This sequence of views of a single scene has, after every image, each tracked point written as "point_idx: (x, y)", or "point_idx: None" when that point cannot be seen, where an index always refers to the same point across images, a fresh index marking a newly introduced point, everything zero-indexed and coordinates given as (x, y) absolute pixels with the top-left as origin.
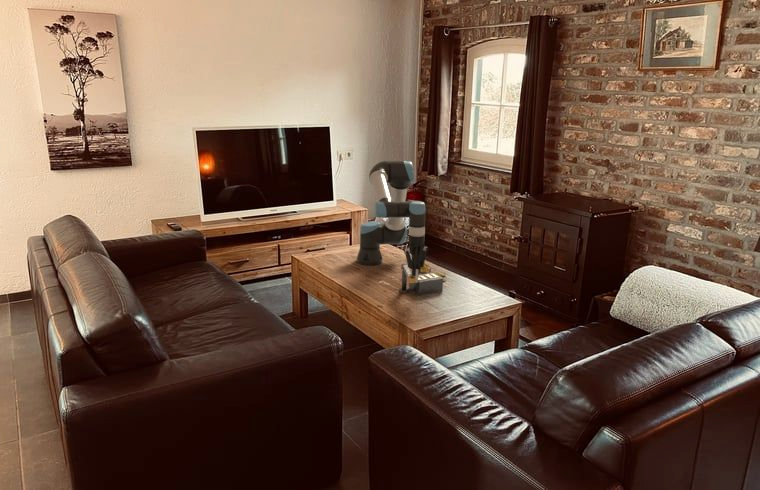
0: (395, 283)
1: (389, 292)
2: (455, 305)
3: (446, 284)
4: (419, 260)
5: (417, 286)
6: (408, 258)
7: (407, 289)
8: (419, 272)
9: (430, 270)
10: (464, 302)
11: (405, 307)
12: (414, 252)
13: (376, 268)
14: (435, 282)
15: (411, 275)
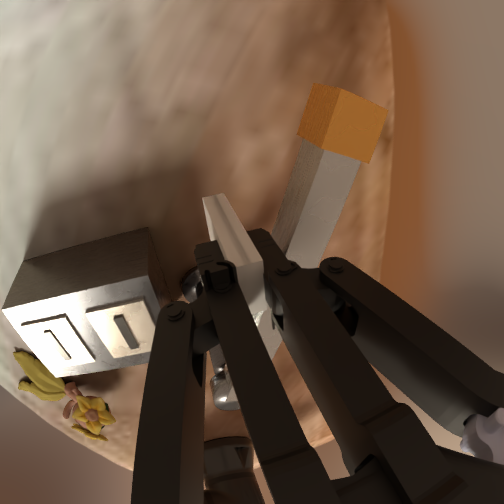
0: (207, 354)
1: None
2: (6, 59)
3: (8, 327)
4: (255, 375)
5: (153, 269)
6: (457, 347)
7: (187, 291)
8: (198, 261)
9: (65, 409)
10: None
11: (292, 80)
12: (438, 462)
13: (220, 428)
14: (44, 288)
15: (321, 193)
